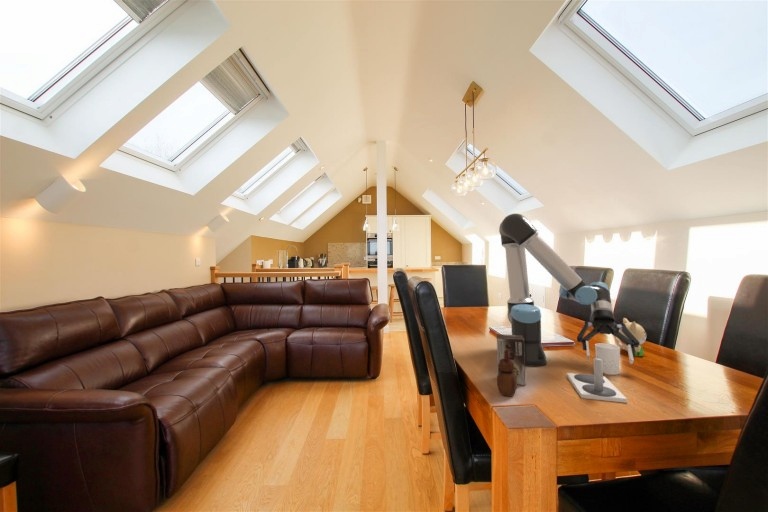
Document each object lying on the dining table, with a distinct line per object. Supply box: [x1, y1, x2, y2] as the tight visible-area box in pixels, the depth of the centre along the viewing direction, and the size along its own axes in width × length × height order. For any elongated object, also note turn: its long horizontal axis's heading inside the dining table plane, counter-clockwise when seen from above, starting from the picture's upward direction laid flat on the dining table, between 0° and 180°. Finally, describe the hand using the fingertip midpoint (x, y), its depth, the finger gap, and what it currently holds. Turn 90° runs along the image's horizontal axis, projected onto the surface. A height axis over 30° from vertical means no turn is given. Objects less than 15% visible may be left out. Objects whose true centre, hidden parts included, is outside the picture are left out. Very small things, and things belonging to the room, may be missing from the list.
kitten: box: [614, 317, 648, 357], centre depth 144 cm, size 15×10×15 cm, turn 164°
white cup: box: [594, 342, 621, 376], centre depth 120 cm, size 8×8×10 cm
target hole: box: [574, 373, 605, 384], centre depth 109 cm, size 9×9×1 cm
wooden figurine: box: [496, 350, 518, 397], centre depth 101 cm, size 7×6×15 cm
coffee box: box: [496, 333, 527, 386], centre depth 112 cm, size 9×6×16 cm
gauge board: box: [566, 357, 628, 404], centre depth 105 cm, size 12×19×11 cm, turn 162°
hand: (609, 359), depth 118 cm, fingers open, 13 cm apart
